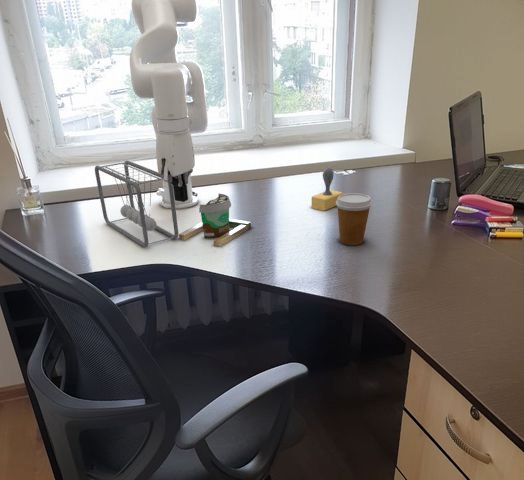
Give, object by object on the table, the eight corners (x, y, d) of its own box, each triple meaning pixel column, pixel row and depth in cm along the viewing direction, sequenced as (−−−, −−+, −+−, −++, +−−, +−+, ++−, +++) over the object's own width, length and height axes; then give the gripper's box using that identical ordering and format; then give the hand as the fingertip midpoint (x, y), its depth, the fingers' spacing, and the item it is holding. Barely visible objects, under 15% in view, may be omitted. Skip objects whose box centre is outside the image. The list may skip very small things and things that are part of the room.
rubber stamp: (329, 200, 178) (330, 163, 172) (343, 203, 175) (345, 166, 168) (310, 207, 172) (311, 169, 166) (324, 211, 169) (326, 172, 162)
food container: (221, 242, 148) (218, 207, 143) (201, 239, 150) (198, 205, 145) (240, 228, 157) (238, 194, 152) (221, 226, 160) (219, 192, 154)
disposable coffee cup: (347, 250, 140) (349, 205, 134) (327, 239, 147) (329, 196, 141) (376, 243, 144) (379, 199, 137) (355, 232, 151) (358, 190, 145)
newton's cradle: (104, 222, 166) (92, 164, 156) (135, 215, 171) (125, 158, 161) (146, 249, 145) (136, 184, 135) (180, 240, 150) (172, 177, 140)
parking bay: (179, 239, 151) (178, 233, 150) (212, 221, 163) (211, 215, 163) (220, 246, 145) (219, 240, 144) (251, 227, 157) (250, 221, 157)
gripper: (179, 118, 134) (186, 190, 144) (140, 130, 123) (151, 207, 134) (203, 120, 131) (209, 194, 141) (166, 132, 120) (175, 211, 130)
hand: (181, 200), depth 137 cm, fingers closed
